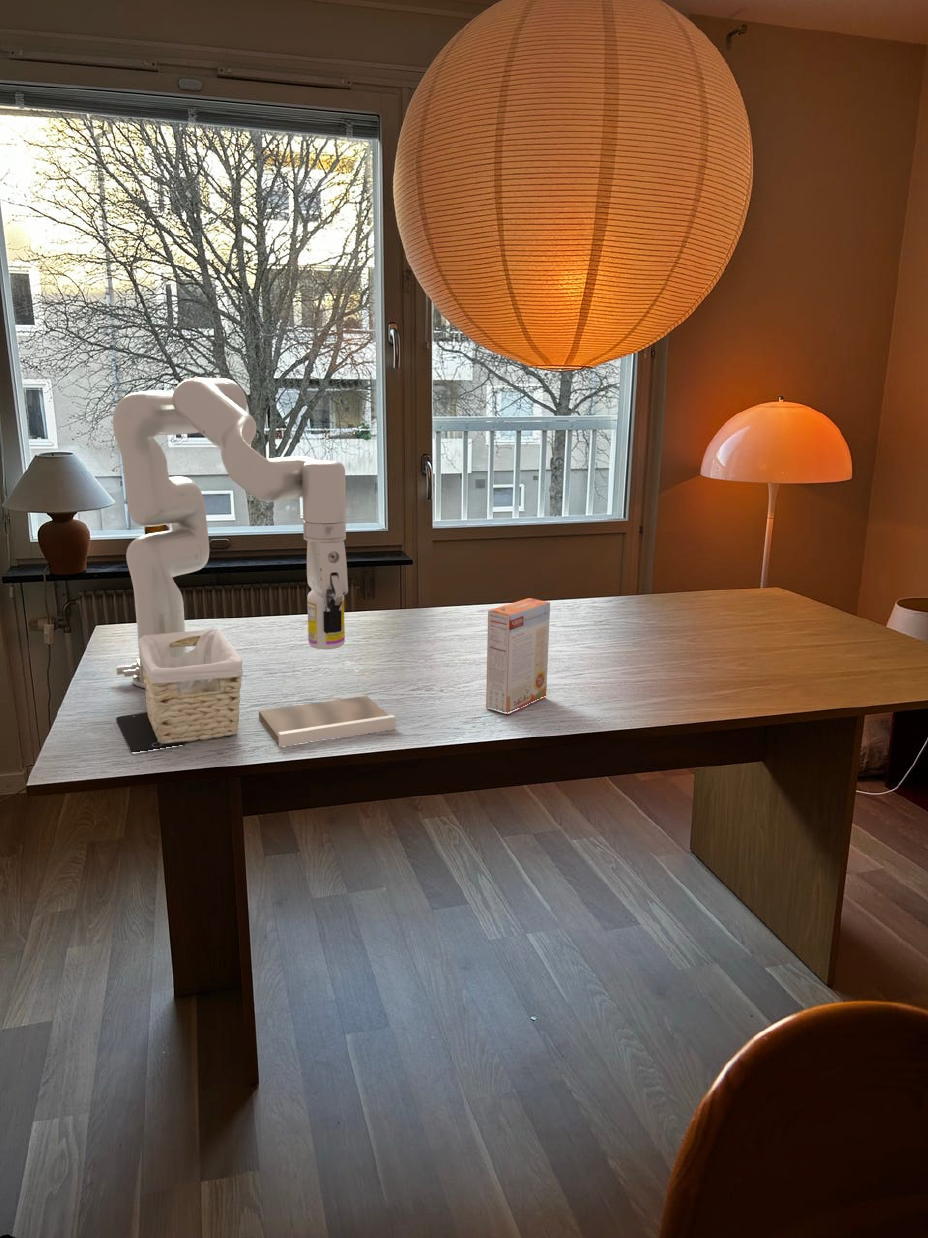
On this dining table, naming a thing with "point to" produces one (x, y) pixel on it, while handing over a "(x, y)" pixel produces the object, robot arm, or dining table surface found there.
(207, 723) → the storage basket
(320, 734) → the rail
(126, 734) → the cell phone
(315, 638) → the supplement bottle
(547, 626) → the cracker box
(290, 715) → the shelf board
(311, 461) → the robot arm
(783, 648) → the dining table surface
